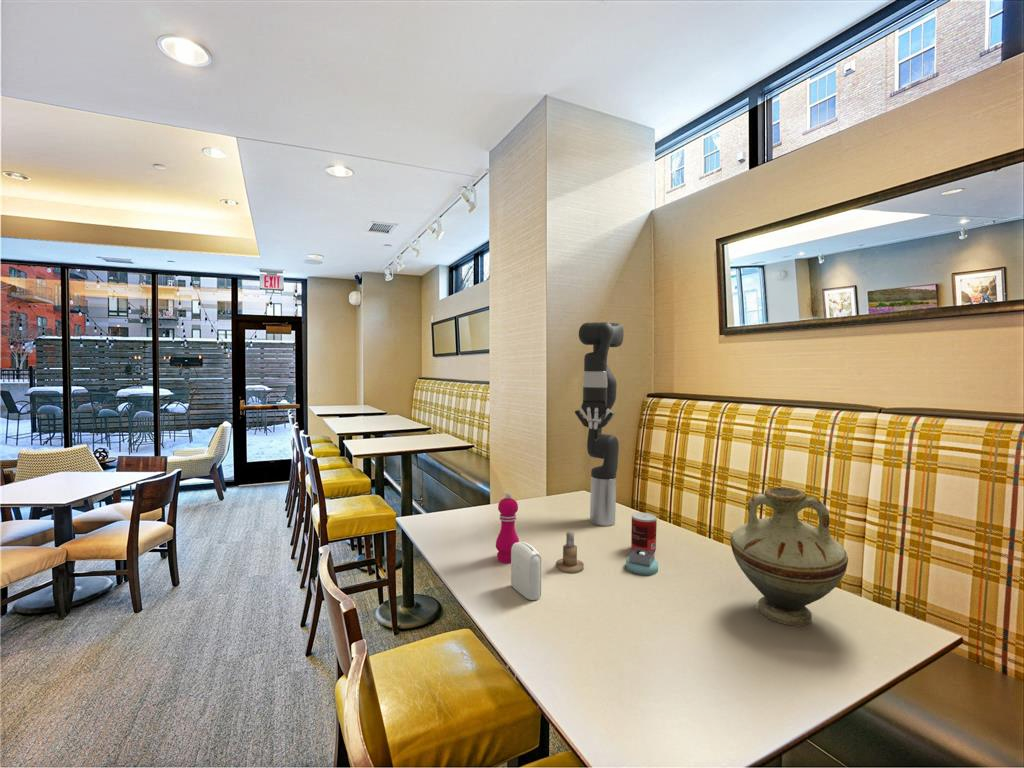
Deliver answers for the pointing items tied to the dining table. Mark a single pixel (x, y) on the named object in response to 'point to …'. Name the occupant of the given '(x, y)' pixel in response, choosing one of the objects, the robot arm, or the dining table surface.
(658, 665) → the dining table surface
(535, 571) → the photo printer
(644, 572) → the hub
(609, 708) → the dining table surface
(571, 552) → the stand
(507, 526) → the pepper mill
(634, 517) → the canned food
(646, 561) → the square metal frame
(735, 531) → the amphora
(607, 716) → the dining table surface
